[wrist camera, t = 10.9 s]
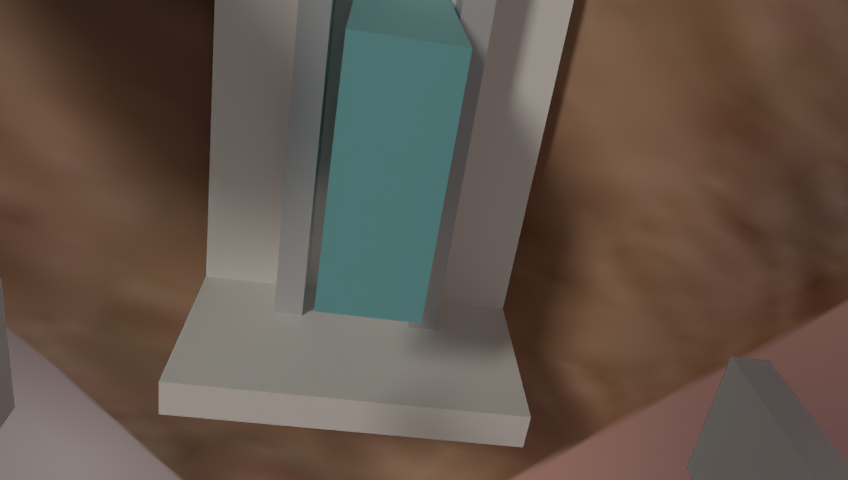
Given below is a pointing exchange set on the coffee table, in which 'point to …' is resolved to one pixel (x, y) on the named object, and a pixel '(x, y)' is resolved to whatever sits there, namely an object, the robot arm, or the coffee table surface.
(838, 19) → the coffee table surface
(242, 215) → the track
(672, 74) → the coffee table surface
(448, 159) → the teal sliding block
